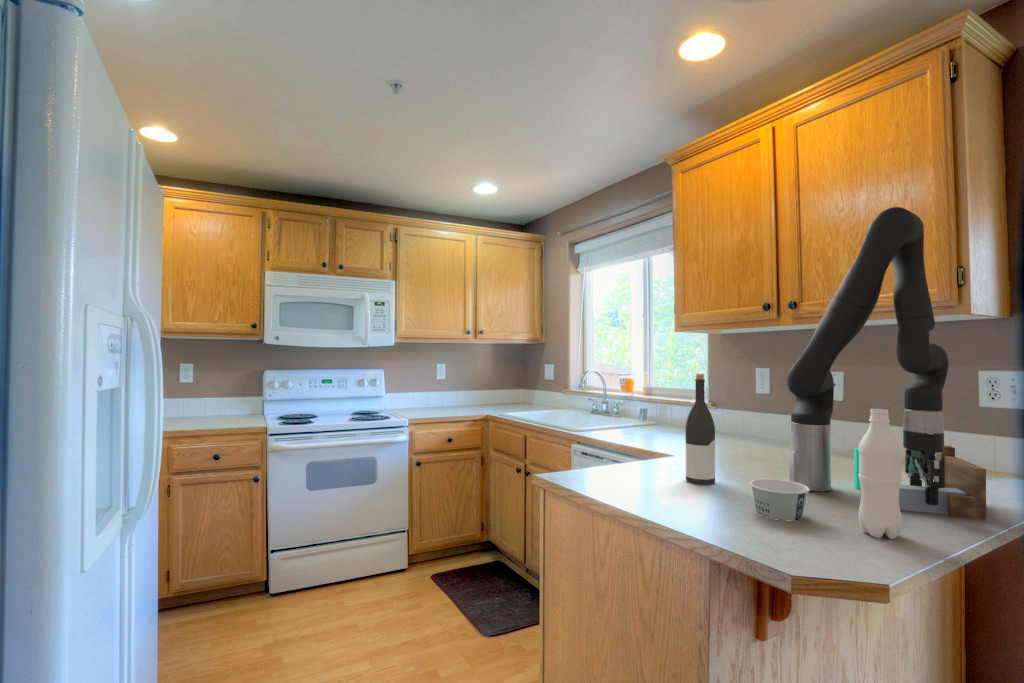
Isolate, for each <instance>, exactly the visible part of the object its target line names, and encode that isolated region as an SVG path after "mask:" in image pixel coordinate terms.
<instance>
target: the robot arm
mask: <svg viewBox="0 0 1024 683" xmlns="http://www.w3.org/2000/svg"><path fill="white" fill-rule="evenodd" d="M924 229H925V225H924V223H923V221H922V219H921V217H919V216H918V215H917V214H915V213H914V212H912V211H910V210H908V209H907V208H904V207H900V206H893V207H889V208H887V209H883V210H882V211H881V212H880V213H878V214H877V215H876V216H875V217H874V219H873V220H872V221H871V223H870V225H869V228H868V230H867V232H866V234H865V237H864V240H863V241H862V244H861V246H860V249H859V251H858V252H857V255H856V257H855V259H854V261H853V263H852V265H851V266H850V267H849V269H848V271H847V273H846V275H845V276H844V278H843V279H842V282H841V283H840V286H839V287H838V288H837V290H836V292H835V293H834V295H833V296H832V298H831V300H830V302H829V304H828V306H827V307H826V310H825V312H824V314H823V315H822V318H821V319H820V322H819V323H818V325H817V326H816V328H815V331H814V333H813V335H812V337H811V339H810V341H809V343H808V344H807V346H806V347H805V349H804V350H803V352H802V353H801V354H800V356H799V357H798V358H797V360H796V361H795V363H794V364H793V365H792V366H791V368H790V370H789V372H788V374H787V378H786V384H787V387H788V390H789V391H790V393H791V394H793V395H794V396H795V405H794V407H793V409H792V411H791V413H790V424H791V425H790V426H791V429H790V434H791V436H790V439H791V440H790V448H789V481H791V482H796V483H800V484H802V485H805V486H807V487H808V488H809V489H810V491H809V492H811V491H813V492H828V491H830V490H831V489H832V478H831V477H832V473H831V471H832V469H831V468H832V466H831V465H832V464H831V463H832V462H831V458H832V457H831V456H832V455H831V453H832V452H831V451H832V450H831V448H832V447H831V442H832V441H831V432H832V431H831V430H832V429H831V420H832V419H831V418H832V415H833V412H834V395H835V394H834V392H835V391H834V390H835V383H834V382H835V381H834V377H833V374H832V371H830V370H831V368H832V366H833V365H834V362H835V361H836V359H837V357H838V356H839V355H840V353H842V351H843V350H844V349H845V348H846V347H847V345H849V344H850V343H851V342H852V340H854V338H855V337H856V336H857V335H858V334H859V333H860V332H861V330H862V329H863V328H864V326H865V324H866V323H867V321H868V319H869V318H870V316H871V315H872V313H873V311H874V310H875V307H876V305H877V303H878V300H879V298H880V294H881V291H882V286H883V281H884V278H885V275H886V271H887V269H888V268H889V266H890V264H892V270H893V294H892V295H893V296H892V298H893V299H892V300H893V306H894V314H895V319H896V323H897V328H898V330H897V337H896V358H897V361H898V363H899V365H900V367H901V368H902V369H903V370H904V371H906V372H907V373H909V374H912V375H913V376H912V380H911V381H912V382H911V383H910V384H908V385H907V386H905V388H904V393H903V394H904V396H903V398H904V400H903V403H904V412H903V417H902V434H903V435H902V437H903V438H902V442H903V443H902V446H903V448H904V449H905V451H904V452H905V458H904V459H905V463H904V464H905V465H904V468H905V470H904V472H905V474H906V475H907V476H908V478H909V485H911V486H923V483H924V486H925V503H926V504H928V505H938V489H940V488H944V467H943V461H942V460H936V453H937V452H943V451H944V446H945V419H944V414H943V413H944V412H943V410H944V409H943V408H944V406H943V402H944V400H943V390H944V387H945V384H946V380H947V375H948V371H949V366H950V365H949V356H948V354H947V352H946V350H945V348H943V347H942V346H941V345H939V344H936V343H930V332H931V331H932V330H934V328H935V326H936V322H935V316H934V311H933V310H934V309H933V306H932V301H931V296H930V291H929V287H928V286H929V285H928V282H927V275H926V269H925V258H924V256H925V255H924V254H925V253H924V251H925V250H924V249H925V247H924V244H925V234H924V233H925V230H924ZM938 478H939V480H938Z"/></svg>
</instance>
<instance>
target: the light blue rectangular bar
mask: <svg viewBox="0 0 1024 683" xmlns="http://www.w3.org/2000/svg"><path fill="white" fill-rule="evenodd" d="M948 495H959V496H968V494H967V493H965V492H963V491H961V490H959V489H953V488H940V489H938V505H928V504H926V503H925V485H924V486H923V485H922V486H911V485H910V484H901V485H900V490H899V506H900V511H908V512H909V511H911V512H918V513H919V512H921V513H935V514H945V515H948Z"/></svg>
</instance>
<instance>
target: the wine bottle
mask: <svg viewBox="0 0 1024 683" xmlns="http://www.w3.org/2000/svg"><path fill="white" fill-rule="evenodd" d="M704 376H705V374H704V373H696V374H695V381H694V382H695V402H694V403H693V405H692V407H691V409H690V410H689V413H688V415H687V418H686V422H685V480H686V482H687V484H692V485H696V486H710V485H715V484H716V427H715V423H714V419H713V416H712V413H711V411H710V410H709V408H708V405H707V404H706V401H705V381H706V380H705V377H704Z"/></svg>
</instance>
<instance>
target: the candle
mask: <svg viewBox="0 0 1024 683" xmlns="http://www.w3.org/2000/svg"><path fill="white" fill-rule="evenodd" d="M858 448H859V447H854V449H853V472H854V473H853V477H854V478H853V479H854V480H853V481H854V482H853V483H854V485H853V486H854V489H856V490H858V491H861V485H860V480H859V477H858V474H859V451H858Z"/></svg>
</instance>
